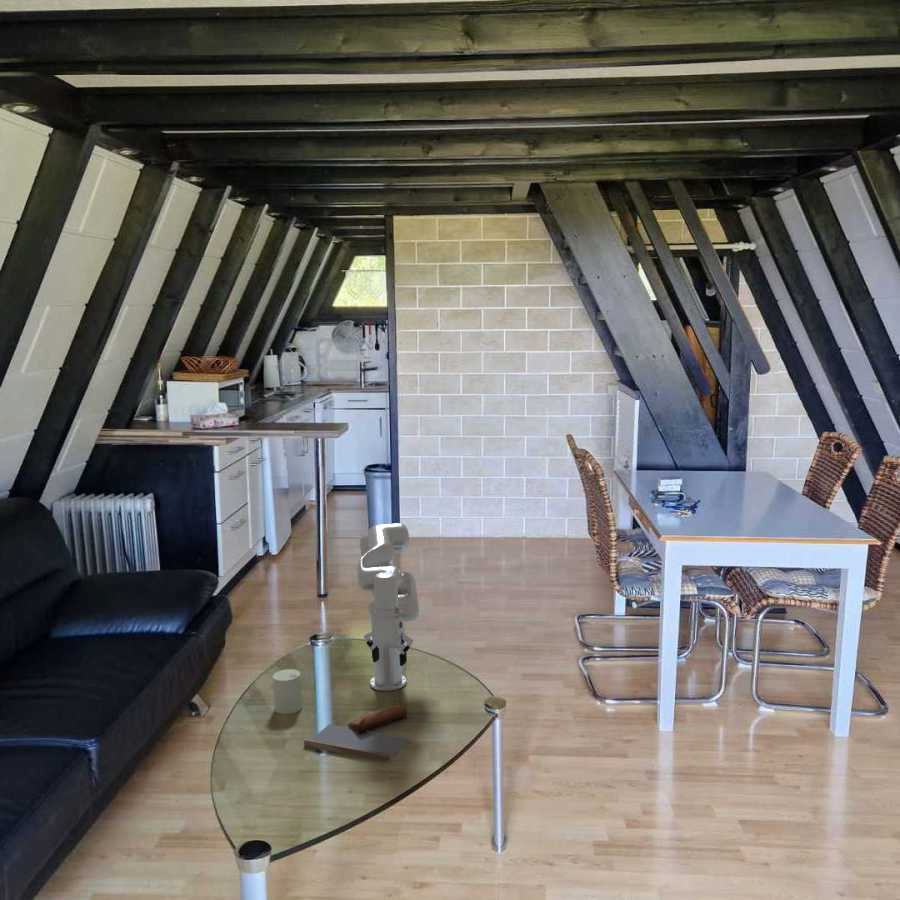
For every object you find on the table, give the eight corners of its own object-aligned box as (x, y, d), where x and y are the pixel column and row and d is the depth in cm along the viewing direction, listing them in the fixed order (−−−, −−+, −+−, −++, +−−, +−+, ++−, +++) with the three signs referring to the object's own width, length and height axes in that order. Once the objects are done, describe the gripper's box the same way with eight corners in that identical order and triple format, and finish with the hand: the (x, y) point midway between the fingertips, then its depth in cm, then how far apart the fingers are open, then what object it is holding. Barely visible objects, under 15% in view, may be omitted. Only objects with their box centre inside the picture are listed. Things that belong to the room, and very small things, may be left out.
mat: (329, 724, 260) (329, 724, 260) (409, 739, 249) (409, 738, 249) (306, 744, 248) (306, 743, 248) (389, 760, 237) (389, 759, 237)
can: (294, 715, 267) (291, 680, 265) (269, 712, 270) (266, 677, 268) (308, 703, 275) (305, 669, 274) (283, 700, 278) (281, 666, 276)
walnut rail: (306, 744, 248) (306, 738, 248) (389, 760, 237) (389, 753, 237) (304, 746, 247) (303, 740, 246) (387, 762, 236) (387, 755, 236)
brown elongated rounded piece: (392, 707, 269) (398, 694, 265) (404, 724, 264) (409, 710, 261) (345, 725, 257) (350, 711, 254) (356, 743, 253) (361, 729, 250)
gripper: (416, 610, 264) (418, 661, 266) (368, 605, 270) (371, 655, 273) (406, 618, 257) (408, 670, 259) (357, 612, 264) (360, 663, 266)
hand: (389, 662), depth 266 cm, fingers open, 9 cm apart
